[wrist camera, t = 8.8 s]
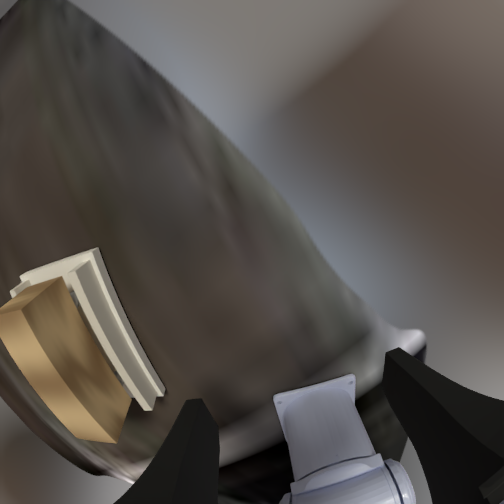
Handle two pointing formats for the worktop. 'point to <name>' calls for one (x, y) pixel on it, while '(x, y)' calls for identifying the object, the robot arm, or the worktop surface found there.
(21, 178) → the worktop surface
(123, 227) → the worktop surface
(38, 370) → the golden brown block
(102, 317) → the peg base
